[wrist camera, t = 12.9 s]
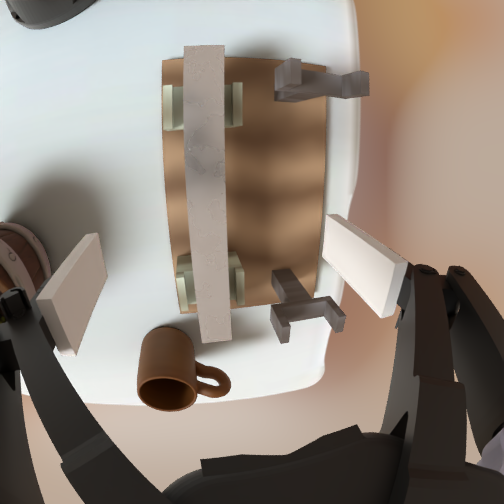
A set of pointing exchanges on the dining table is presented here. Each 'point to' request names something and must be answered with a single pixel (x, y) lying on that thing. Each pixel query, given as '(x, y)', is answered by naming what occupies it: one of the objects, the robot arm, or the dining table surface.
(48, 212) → the dining table surface
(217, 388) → the mug
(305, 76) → the rack
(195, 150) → the rail
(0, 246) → the flowerpot
